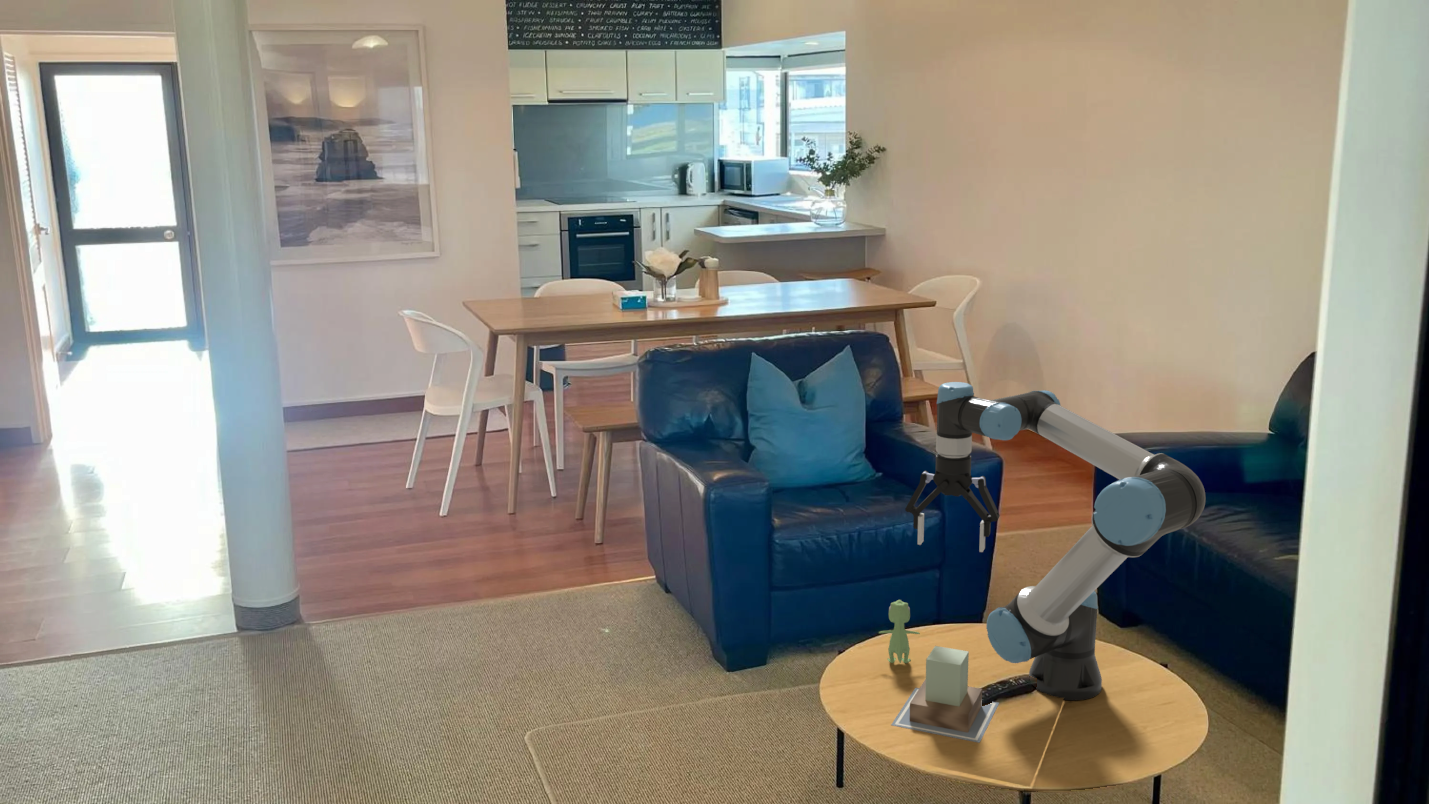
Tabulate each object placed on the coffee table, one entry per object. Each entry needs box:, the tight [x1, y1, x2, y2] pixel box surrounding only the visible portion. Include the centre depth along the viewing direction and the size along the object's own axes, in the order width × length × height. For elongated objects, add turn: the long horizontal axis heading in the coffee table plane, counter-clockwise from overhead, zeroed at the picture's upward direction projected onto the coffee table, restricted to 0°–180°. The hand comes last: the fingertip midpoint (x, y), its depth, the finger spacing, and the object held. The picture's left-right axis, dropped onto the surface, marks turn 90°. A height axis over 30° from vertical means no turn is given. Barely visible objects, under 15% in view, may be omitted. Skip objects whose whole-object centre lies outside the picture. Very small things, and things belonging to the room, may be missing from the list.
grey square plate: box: [890, 687, 1000, 743], centre depth 243 cm, size 18×18×1 cm
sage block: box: [925, 645, 970, 706], centre depth 241 cm, size 7×7×9 cm
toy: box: [878, 599, 921, 664], centre depth 266 cm, size 7×8×15 cm
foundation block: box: [910, 678, 983, 733], centre depth 242 cm, size 12×12×4 cm
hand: (951, 546), depth 260 cm, fingers open, 13 cm apart
